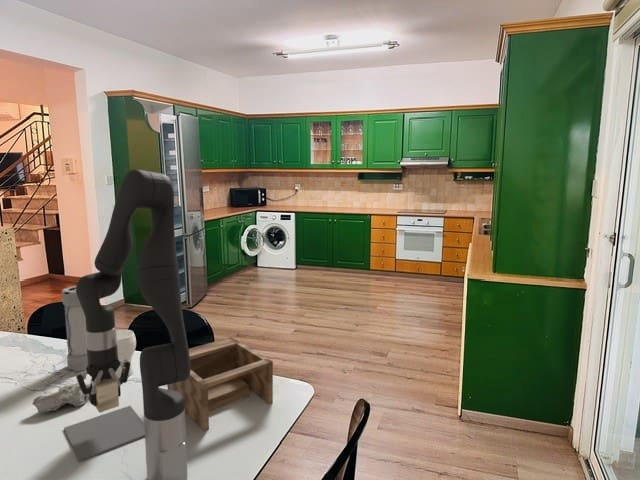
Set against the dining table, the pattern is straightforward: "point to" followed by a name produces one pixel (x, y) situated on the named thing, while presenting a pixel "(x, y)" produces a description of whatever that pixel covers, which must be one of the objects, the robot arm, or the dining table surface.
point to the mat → (105, 432)
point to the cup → (125, 348)
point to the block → (107, 395)
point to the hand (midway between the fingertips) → (105, 401)
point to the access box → (223, 378)
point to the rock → (61, 398)
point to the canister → (75, 330)
